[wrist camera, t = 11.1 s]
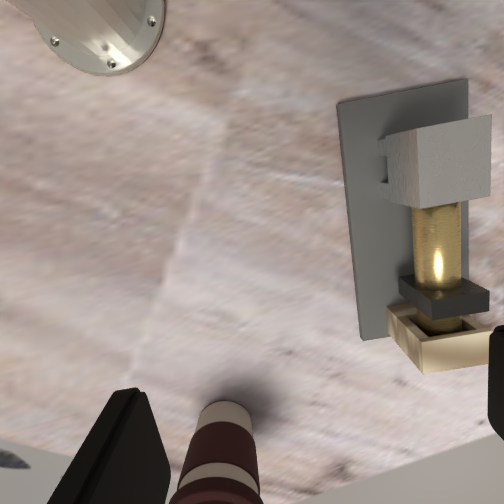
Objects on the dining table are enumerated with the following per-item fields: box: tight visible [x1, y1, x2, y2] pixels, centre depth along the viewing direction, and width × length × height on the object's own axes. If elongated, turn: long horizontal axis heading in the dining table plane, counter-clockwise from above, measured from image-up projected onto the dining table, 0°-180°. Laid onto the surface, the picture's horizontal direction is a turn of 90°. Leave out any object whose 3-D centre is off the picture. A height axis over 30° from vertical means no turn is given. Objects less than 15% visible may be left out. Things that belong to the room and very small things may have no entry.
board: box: [336, 78, 469, 341], centre depth 35 cm, size 28×13×1 cm, turn 10°
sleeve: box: [377, 114, 492, 209], centre depth 29 cm, size 6×6×8 cm
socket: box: [386, 303, 492, 374], centre depth 34 cm, size 4×7×8 cm, turn 101°
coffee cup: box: [169, 401, 264, 504], centre depth 35 cm, size 10×10×15 cm
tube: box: [398, 202, 489, 337], centre depth 31 cm, size 18×5×6 cm, turn 10°
